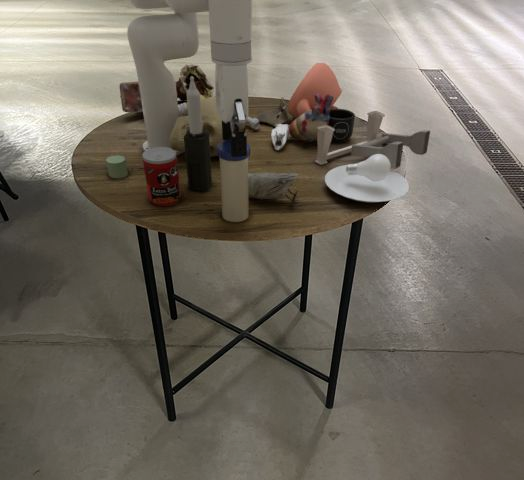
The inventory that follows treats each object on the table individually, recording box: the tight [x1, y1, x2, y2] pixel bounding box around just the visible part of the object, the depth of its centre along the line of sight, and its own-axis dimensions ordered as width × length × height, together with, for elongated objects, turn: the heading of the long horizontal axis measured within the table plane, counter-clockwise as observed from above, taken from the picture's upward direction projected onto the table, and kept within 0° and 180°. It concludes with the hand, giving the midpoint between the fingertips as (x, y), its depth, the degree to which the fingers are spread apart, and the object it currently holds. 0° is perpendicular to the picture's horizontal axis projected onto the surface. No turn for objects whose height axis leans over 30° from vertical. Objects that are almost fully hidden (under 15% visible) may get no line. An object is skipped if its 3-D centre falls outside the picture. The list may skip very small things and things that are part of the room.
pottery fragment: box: [253, 96, 289, 128], centre depth 155 cm, size 18×11×5 cm, turn 2°
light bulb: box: [178, 95, 205, 117], centre depth 154 cm, size 6×6×10 cm
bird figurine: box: [270, 123, 290, 151], centre depth 140 cm, size 5×7×10 cm
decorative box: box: [118, 80, 178, 113], centre depth 154 cm, size 13×20×10 cm
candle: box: [184, 76, 213, 193], centre depth 112 cm, size 5×5×25 cm
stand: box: [105, 155, 129, 179], centre depth 124 cm, size 5×5×4 cm
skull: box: [170, 95, 238, 158], centre depth 132 cm, size 14×17×20 cm
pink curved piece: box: [287, 62, 343, 119], centre depth 149 cm, size 25×17×13 cm
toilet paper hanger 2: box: [350, 129, 431, 170], centre depth 132 cm, size 22×13×6 cm, turn 143°
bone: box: [245, 115, 261, 131], centre depth 151 cm, size 18×5×4 cm
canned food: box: [142, 147, 182, 207], centre depth 112 cm, size 8×8×11 cm
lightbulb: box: [346, 154, 392, 182], centre depth 118 cm, size 6×6×11 cm
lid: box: [217, 140, 251, 161], centre depth 101 cm, size 7×7×2 cm
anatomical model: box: [288, 94, 333, 143], centre depth 137 cm, size 10×9×15 cm
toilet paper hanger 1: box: [314, 110, 386, 166], centre depth 133 cm, size 23×9×4 cm
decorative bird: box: [249, 172, 300, 205], centre depth 114 cm, size 5×16×8 cm, turn 77°
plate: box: [324, 164, 410, 204], centre depth 120 cm, size 21×21×2 cm
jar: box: [218, 156, 250, 223], centre depth 106 cm, size 6×6×15 cm
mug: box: [328, 108, 356, 143], centre depth 143 cm, size 12×9×7 cm
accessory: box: [287, 136, 318, 148], centre depth 143 cm, size 9×9×1 cm
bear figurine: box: [176, 64, 215, 103], centre depth 164 cm, size 14×15×12 cm
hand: (234, 147), depth 100 cm, fingers open, 8 cm apart
